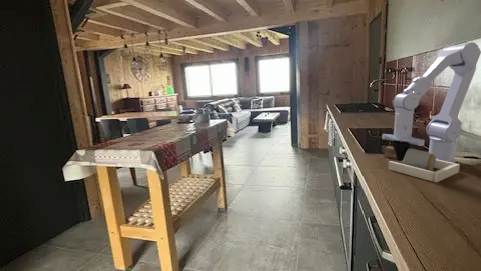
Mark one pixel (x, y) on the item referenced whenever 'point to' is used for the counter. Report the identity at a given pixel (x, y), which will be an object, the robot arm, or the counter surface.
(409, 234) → the counter surface
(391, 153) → the walnut block
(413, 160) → the ceramic mug
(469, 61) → the robot arm
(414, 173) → the frame
